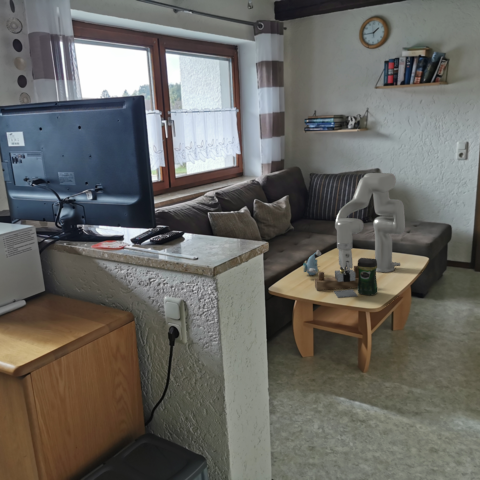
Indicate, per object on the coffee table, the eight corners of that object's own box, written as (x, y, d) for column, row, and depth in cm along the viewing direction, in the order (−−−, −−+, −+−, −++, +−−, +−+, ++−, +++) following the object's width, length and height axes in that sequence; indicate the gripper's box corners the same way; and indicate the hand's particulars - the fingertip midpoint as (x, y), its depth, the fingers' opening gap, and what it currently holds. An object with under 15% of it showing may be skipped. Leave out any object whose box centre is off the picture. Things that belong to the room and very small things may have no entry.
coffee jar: (379, 292, 251) (379, 257, 247) (374, 296, 245) (374, 261, 240) (360, 289, 256) (360, 255, 252) (355, 294, 250) (355, 259, 246)
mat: (352, 290, 256) (352, 289, 255) (357, 296, 247) (357, 295, 247) (333, 291, 255) (333, 290, 255) (337, 297, 247) (337, 296, 246)
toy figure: (321, 279, 277) (320, 253, 273) (302, 279, 279) (301, 254, 276) (322, 270, 293) (321, 246, 289) (304, 270, 295) (303, 246, 291)
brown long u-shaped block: (362, 283, 265) (362, 264, 263) (365, 287, 259) (365, 267, 257) (315, 287, 264) (314, 267, 262) (317, 290, 258) (316, 271, 256)
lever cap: (352, 276, 252) (352, 267, 251) (355, 280, 246) (355, 270, 245) (334, 278, 252) (334, 268, 251) (337, 281, 246) (337, 272, 245)
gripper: (356, 249, 237) (357, 284, 241) (347, 241, 254) (347, 274, 258) (341, 250, 237) (342, 285, 241) (333, 242, 253) (333, 275, 257)
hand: (345, 279), depth 249 cm, fingers closed on lever cap, 6 cm apart
